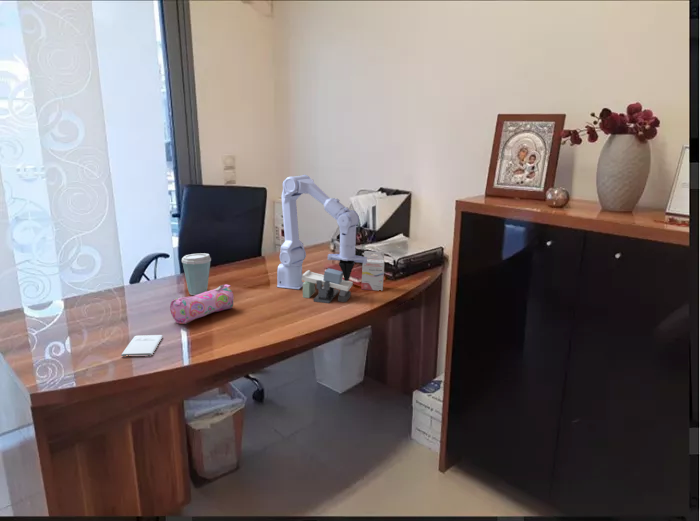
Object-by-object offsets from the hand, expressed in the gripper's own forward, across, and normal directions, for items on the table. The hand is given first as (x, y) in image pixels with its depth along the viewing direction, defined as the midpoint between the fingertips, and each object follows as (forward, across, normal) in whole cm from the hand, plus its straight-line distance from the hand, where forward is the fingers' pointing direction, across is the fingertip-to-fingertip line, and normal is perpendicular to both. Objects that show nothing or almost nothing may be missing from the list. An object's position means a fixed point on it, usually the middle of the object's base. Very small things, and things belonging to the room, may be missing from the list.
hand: (346, 280), depth 184 cm
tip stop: (+7, -1, 0) cm, 7 cm away
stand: (+7, -8, 0) cm, 11 cm away
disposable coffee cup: (+8, -55, -11) cm, 57 cm away
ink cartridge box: (+8, +7, +15) cm, 18 cm away
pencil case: (+8, -41, -30) cm, 52 cm away
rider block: (+1, -6, 0) cm, 6 cm away
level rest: (+7, -15, 0) cm, 17 cm away
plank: (+2, -8, 0) cm, 8 cm away
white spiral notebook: (+8, -46, -57) cm, 73 cm away
